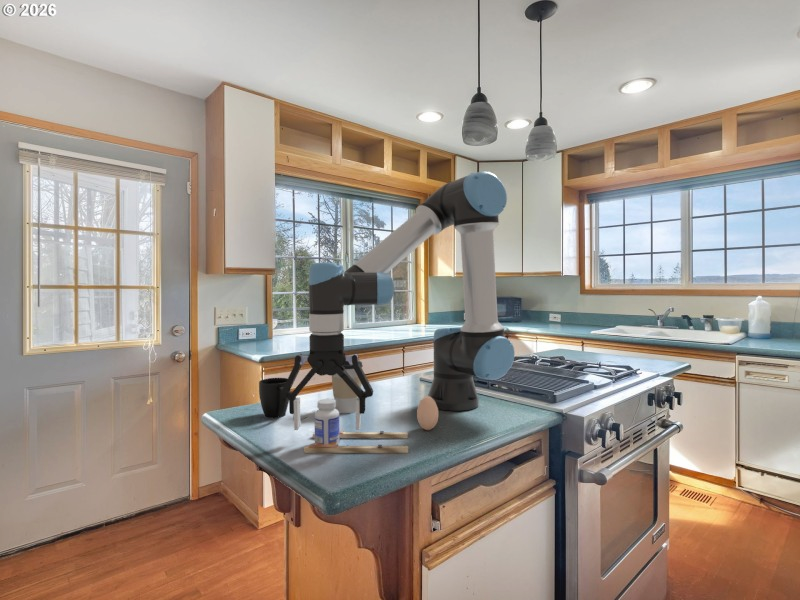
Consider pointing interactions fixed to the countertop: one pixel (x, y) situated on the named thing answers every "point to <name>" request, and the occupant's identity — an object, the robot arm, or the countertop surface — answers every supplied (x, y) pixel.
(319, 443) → the pill bottle
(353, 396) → the coffee cup
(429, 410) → the egg
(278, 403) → the mug
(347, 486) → the countertop surface
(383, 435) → the beam track
